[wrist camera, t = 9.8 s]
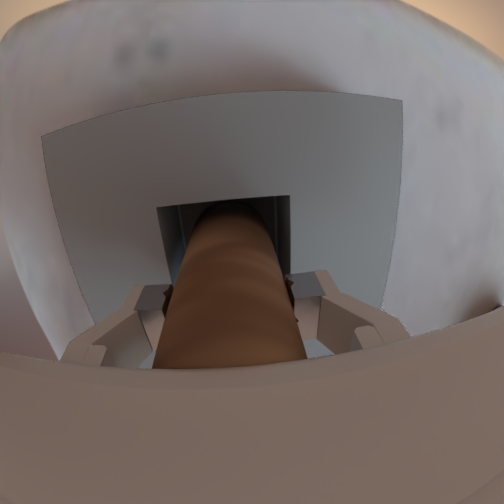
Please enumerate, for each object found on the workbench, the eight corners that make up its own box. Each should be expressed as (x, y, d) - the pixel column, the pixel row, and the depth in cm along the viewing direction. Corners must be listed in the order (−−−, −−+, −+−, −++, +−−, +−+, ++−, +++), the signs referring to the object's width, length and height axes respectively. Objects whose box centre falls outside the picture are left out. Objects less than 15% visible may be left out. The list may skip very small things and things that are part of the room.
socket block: (356, 103, 14) (402, 100, 9) (345, 301, 20) (370, 347, 16) (88, 128, 13) (41, 136, 9) (135, 319, 20) (117, 367, 15)
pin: (266, 197, 14) (326, 342, 5) (269, 267, 16) (309, 433, 7) (187, 205, 14) (119, 354, 5) (198, 273, 16) (172, 441, 7)
